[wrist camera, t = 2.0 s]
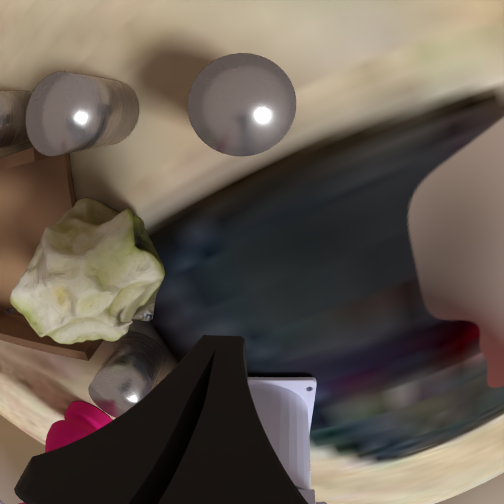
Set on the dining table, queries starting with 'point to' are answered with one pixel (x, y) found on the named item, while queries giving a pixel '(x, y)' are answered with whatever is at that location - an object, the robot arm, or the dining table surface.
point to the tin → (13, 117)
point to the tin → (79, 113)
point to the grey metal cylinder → (241, 104)
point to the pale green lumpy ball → (90, 276)
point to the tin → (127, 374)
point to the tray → (31, 236)
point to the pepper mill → (75, 425)
